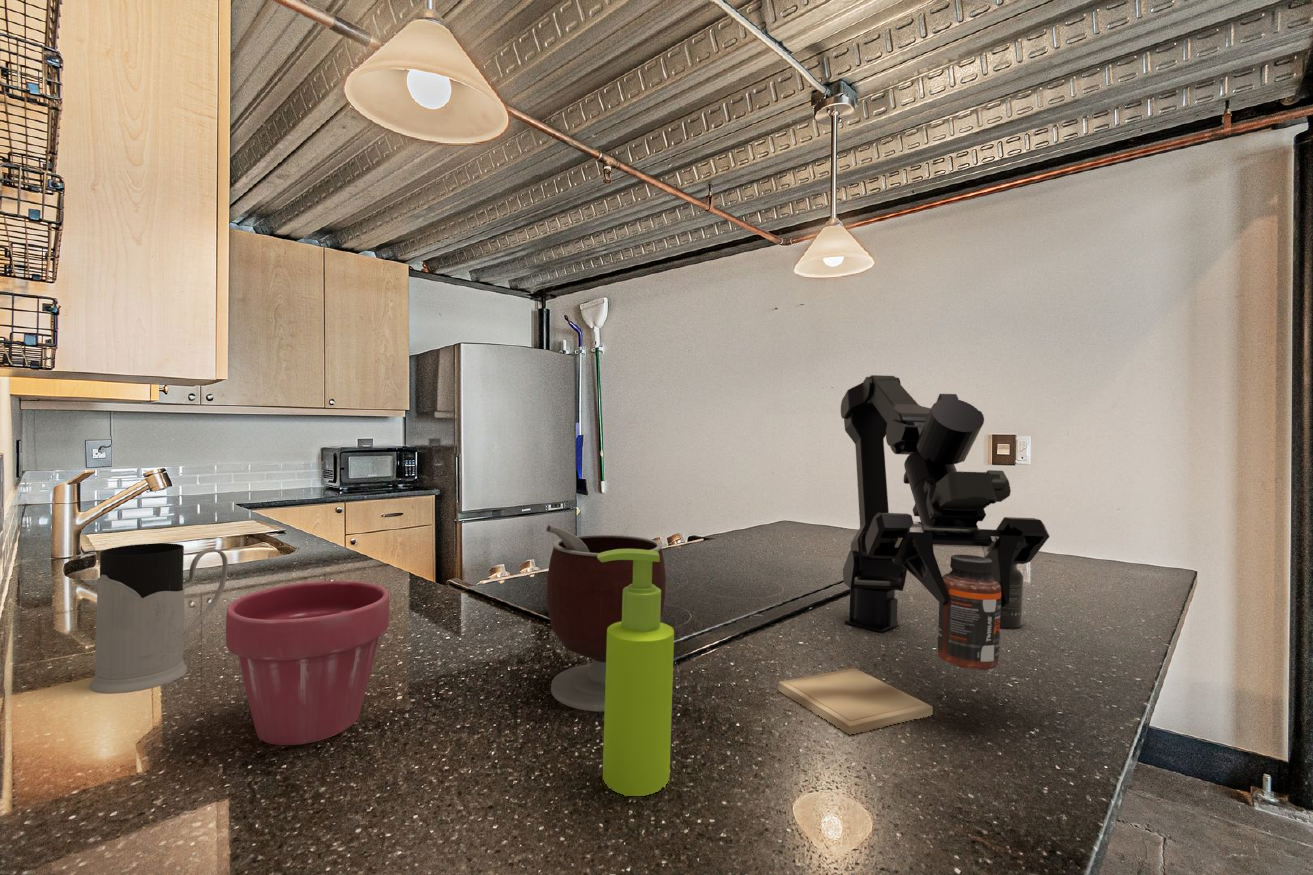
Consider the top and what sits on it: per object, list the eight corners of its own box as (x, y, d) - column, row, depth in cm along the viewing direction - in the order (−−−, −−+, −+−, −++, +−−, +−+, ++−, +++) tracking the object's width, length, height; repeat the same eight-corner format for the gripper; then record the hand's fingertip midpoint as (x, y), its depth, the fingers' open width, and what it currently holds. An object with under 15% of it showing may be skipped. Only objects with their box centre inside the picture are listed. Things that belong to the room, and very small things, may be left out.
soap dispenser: (591, 760, 57) (597, 543, 57) (665, 759, 58) (672, 545, 58) (589, 798, 51) (597, 556, 51) (673, 796, 52) (680, 558, 52)
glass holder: (71, 685, 70) (74, 551, 70) (201, 645, 83) (204, 533, 83) (121, 698, 67) (124, 559, 67) (248, 655, 80) (251, 539, 80)
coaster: (777, 690, 74) (778, 681, 74) (854, 675, 80) (854, 667, 79) (849, 735, 63) (850, 725, 63) (932, 715, 69) (932, 705, 69)
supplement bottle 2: (1022, 621, 106) (1025, 551, 106) (1020, 632, 100) (1023, 557, 100) (977, 614, 110) (979, 546, 110) (973, 623, 104) (975, 552, 104)
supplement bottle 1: (1006, 675, 64) (1011, 565, 63) (944, 669, 65) (948, 561, 65) (988, 654, 69) (992, 554, 69) (931, 649, 71) (935, 550, 71)
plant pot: (270, 778, 53) (274, 628, 53) (195, 731, 60) (198, 600, 60) (415, 716, 65) (418, 594, 65) (337, 683, 72) (340, 574, 72)
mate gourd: (610, 657, 83) (615, 508, 83) (686, 690, 73) (692, 521, 73) (508, 688, 72) (513, 517, 72) (582, 732, 62) (587, 534, 62)
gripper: (876, 442, 71) (907, 559, 60) (1043, 447, 70) (1105, 566, 59) (854, 502, 79) (878, 615, 68) (1004, 507, 78) (1052, 622, 68)
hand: (975, 604), depth 66 cm, fingers closed on supplement bottle 1, 6 cm apart
